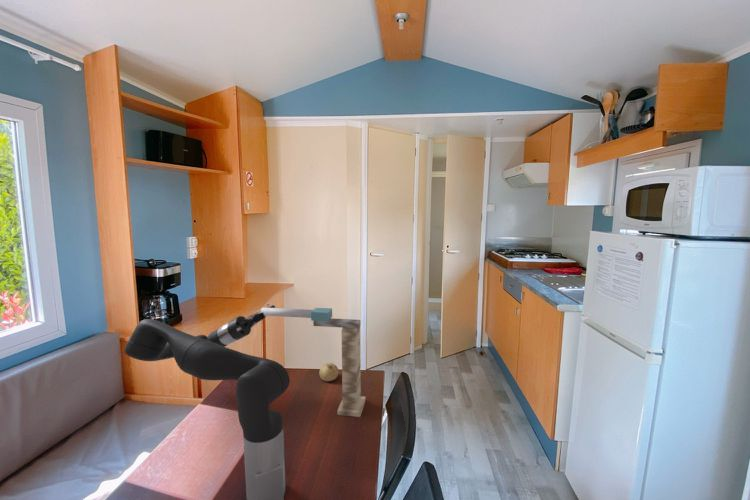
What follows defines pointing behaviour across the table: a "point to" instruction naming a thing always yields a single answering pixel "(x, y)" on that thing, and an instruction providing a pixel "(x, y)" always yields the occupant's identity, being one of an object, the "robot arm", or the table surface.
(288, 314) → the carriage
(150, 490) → the table surface
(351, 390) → the rail stand
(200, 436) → the table surface
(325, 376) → the onion
